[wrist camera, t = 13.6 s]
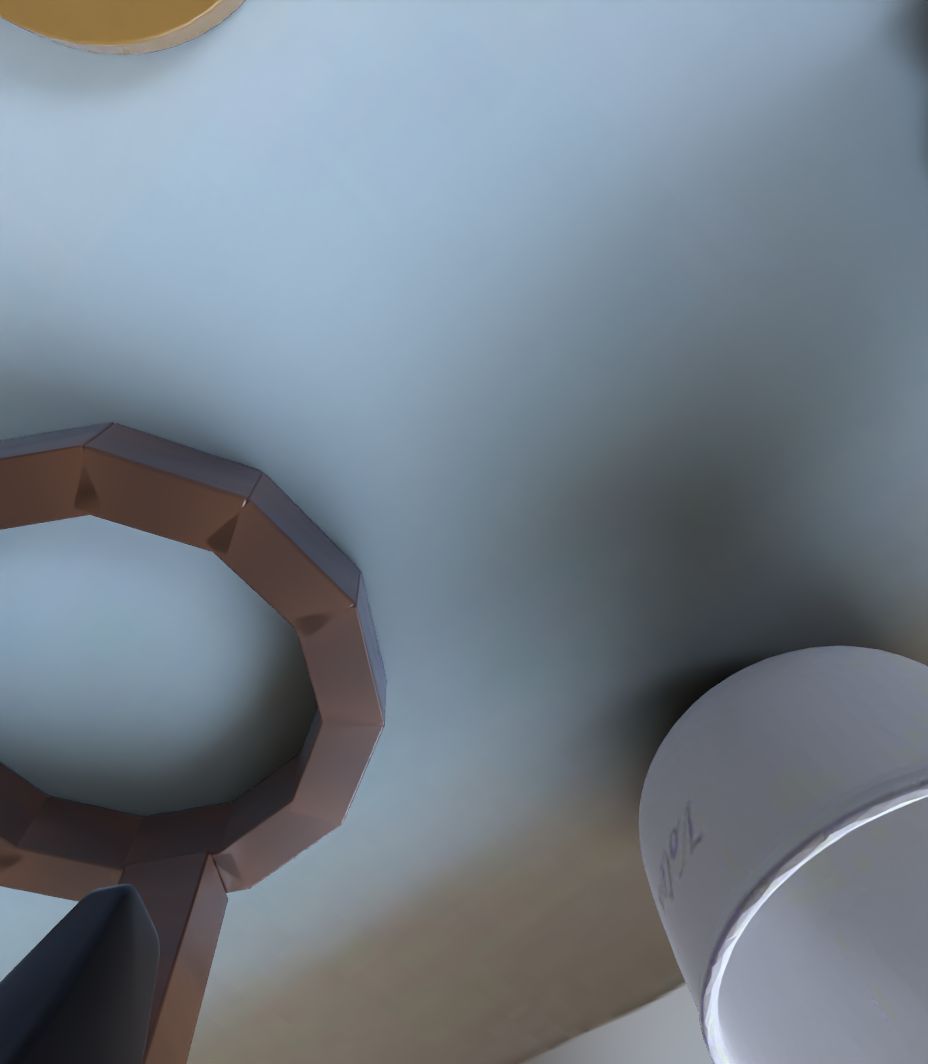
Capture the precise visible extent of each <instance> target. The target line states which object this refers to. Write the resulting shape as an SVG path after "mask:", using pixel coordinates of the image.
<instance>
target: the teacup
mask: <svg viewBox="0 0 928 1064" xmlns="http://www.w3.org/2000/svg"><path fill="white" fill-rule="evenodd" d="M639 838H640V846H641V853H642V859H643V864H644V868H645V871H646V875H647V878H648V881H649V884H650V888H651V891H652V894H653V898H654V901H655V904H656V907H657V909H658V912H659V915H660V918H661V920H662V923H663V926H664V928H665V931H666V934H667V936H668V939H669V942H670V944H671V947H672V949H673V952H674V955H675V957H676V960H677V963H678V965H679V967H680V970H681V972H682V974H683V977H684V979H685V981H686V984H687V986H688V988H689V991H690V993H691V995H692V998H693V1000H694V1002H695V1005H696V1007H697V1009H698V1011H699V1020H700V1025H701V1030H702V1034H703V1038H704V1042H705V1044H706V1047H707V1049H708V1052H709V1054H710V1056H711V1059H712V1061H713V1063H714V1064H928V666H926V665H924V664H922V663H919V662H917V661H914V660H911V659H909V658H906V657H904V656H901V655H897V654H893V653H890V652H886V651H882V650H878V649H870V648H863V647H855V646H827V647H813V648H806V649H801V650H796V651H791V652H787V653H784V654H780V655H777V656H773V657H770V658H767V659H765V660H762V661H760V662H758V663H755V664H753V665H751V666H748V667H746V668H744V669H742V670H740V671H738V672H737V673H735V674H733V675H731V676H730V677H728V678H727V679H725V680H724V681H722V682H721V683H719V684H717V685H716V686H714V687H713V688H711V689H710V690H709V691H707V692H706V693H705V694H704V695H703V696H701V697H700V698H699V699H698V700H697V701H696V702H694V704H693V705H692V706H691V707H690V708H689V709H688V710H687V711H686V712H685V713H684V714H683V715H682V716H681V717H680V719H679V720H678V721H677V722H676V723H675V724H674V726H673V727H672V728H671V730H670V731H669V733H668V734H667V736H666V737H665V739H664V740H663V742H662V743H661V745H660V746H659V748H658V750H657V753H656V755H655V757H654V759H653V761H652V763H651V765H650V768H649V770H648V773H647V776H646V778H645V782H644V786H643V790H642V795H641V801H640V808H639Z"/></svg>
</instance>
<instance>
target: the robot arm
mask: <svg viewBox="0 0 928 1064" xmlns="http://www.w3.org/2000/svg"><path fill="white" fill-rule="evenodd" d="M159 956H160V945H159V938H158V934H157V931H156V929H155V927H154V924H153V922H152V920H151V918H150V916H149V914H148V911H147V909H146V907H145V905H144V903H143V900H142V898H141V896H140V894H139V892H138V890H137V889H136V888H135V887H134V886H133V885H131V884H120V885H114V886H109V887H103V888H97V889H95V890H92V891H91V892H89V893H88V894H87V895H86V896H85V897H84V898H83V899H82V900H81V901H80V902H79V903H78V904H77V905H76V906H75V907H74V908H73V909H72V910H71V911H70V912H69V913H68V914H67V915H66V916H65V917H64V918H63V919H62V920H61V921H60V922H59V923H58V924H57V925H56V926H55V927H54V928H53V929H52V930H51V931H50V932H49V933H48V934H47V935H46V936H45V937H44V938H43V939H42V940H41V941H40V942H39V943H38V944H37V945H36V946H35V947H34V949H33V950H32V951H31V952H30V953H29V954H28V955H27V956H26V957H25V958H24V959H23V960H22V961H21V962H20V963H19V964H18V965H17V966H16V967H15V968H14V969H13V970H12V971H11V972H10V973H9V974H8V975H7V976H6V977H5V978H4V979H3V980H2V981H1V982H0V1064H142V1062H143V1055H144V1049H145V1043H146V1037H147V1031H148V1025H149V1018H150V1012H151V1006H152V1000H153V994H154V988H155V981H156V975H157V969H158V963H159Z"/></svg>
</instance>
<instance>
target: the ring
mask: <svg viewBox="0 0 928 1064" xmlns="http://www.w3.org/2000/svg"><path fill="white" fill-rule="evenodd" d="M85 515H93V516H96V517H99V518H103V519H106V520H109V521H112V522H116V523H119V524H122V525H126V526H129V527H132V528H136V529H139V530H142V531H145V532H149V533H152V534H155V535H159V536H162V537H165V538H169V539H172V540H175V541H179V542H182V543H185V544H188V545H192V546H195V547H198V548H202V549H205V550H208V551H212V552H214V553H215V554H216V555H217V556H218V557H219V558H220V559H221V560H222V561H223V562H224V563H225V564H226V565H228V566H229V567H230V568H231V569H232V570H233V571H234V572H235V573H236V574H237V575H238V576H239V577H240V578H242V579H243V580H244V581H245V582H246V583H247V584H248V585H249V586H250V587H251V588H252V589H253V590H254V591H256V592H257V593H258V594H259V595H260V596H261V597H262V598H263V599H264V600H265V601H266V602H267V603H268V604H269V605H271V606H272V607H273V608H274V609H275V610H276V611H277V612H278V613H279V614H280V615H281V616H282V617H283V618H285V619H286V620H287V621H288V622H289V623H290V624H291V625H292V626H293V627H294V628H295V629H296V631H297V634H298V638H299V642H300V645H301V649H302V652H303V656H304V659H305V663H306V666H307V670H308V673H309V677H310V680H311V684H312V688H313V691H314V695H315V698H316V702H317V705H318V708H317V711H316V714H315V716H314V719H313V721H312V724H311V727H310V729H309V732H308V735H307V737H306V740H305V743H304V745H303V748H302V750H301V753H300V754H298V755H297V756H296V757H294V758H293V759H292V760H290V761H289V762H287V763H286V764H285V765H283V766H282V767H281V768H279V769H278V770H276V771H275V772H274V773H272V774H271V775H270V776H268V777H267V778H265V779H264V780H263V781H261V782H260V783H259V784H257V785H256V786H254V787H253V788H252V789H250V790H249V791H248V792H246V793H245V794H243V795H242V796H241V797H239V798H238V799H237V800H235V801H234V802H230V803H224V804H218V805H212V806H207V807H201V808H195V809H189V810H183V811H177V812H171V813H166V814H160V815H154V816H148V817H140V816H136V815H131V814H127V813H122V812H118V811H113V810H109V809H104V808H100V807H95V806H91V805H86V804H82V803H77V802H73V801H68V800H64V799H59V798H55V797H50V796H47V795H46V794H44V793H43V792H41V791H40V790H39V789H37V788H36V787H34V786H33V785H31V784H30V783H29V782H27V781H26V780H24V779H23V778H21V777H20V776H18V775H17V774H16V773H14V772H13V771H11V770H10V769H8V768H7V767H6V766H4V765H3V764H1V763H0V886H2V887H7V888H12V889H18V890H23V891H28V892H33V893H38V894H43V895H48V896H53V897H58V898H64V899H69V900H74V901H79V902H80V901H81V900H82V899H83V898H84V897H85V896H86V895H87V894H88V893H89V892H91V891H92V890H95V889H97V888H103V887H109V886H114V885H120V884H131V885H133V886H134V887H135V888H136V889H137V890H138V892H139V894H140V896H141V898H142V900H143V903H144V905H145V907H146V909H147V911H148V914H149V916H150V918H151V920H152V922H153V924H154V927H155V929H156V931H157V934H158V938H159V945H160V956H159V963H158V969H157V975H156V981H155V988H154V994H153V1000H152V1006H151V1012H150V1018H149V1025H148V1031H147V1037H146V1043H145V1049H144V1055H143V1062H142V1064H186V1062H187V1058H188V1054H189V1050H190V1046H191V1043H192V1039H193V1035H194V1031H195V1027H196V1023H197V1019H198V1015H199V1011H200V1007H201V1003H202V1000H203V996H204V992H205V988H206V984H207V980H208V976H209V972H210V968H211V964H212V960H213V956H214V953H215V949H216V945H217V941H218V937H219V933H220V929H221V925H222V921H223V917H224V913H225V910H226V906H227V902H228V897H227V895H226V893H229V892H234V891H240V890H246V889H250V888H251V887H253V886H254V885H256V884H257V883H259V882H260V881H261V880H263V879H264V878H266V877H267V876H269V875H270V874H272V873H273V872H274V871H276V870H277V869H279V868H280V867H282V866H283V865H285V864H286V863H287V862H289V861H290V860H292V859H293V858H295V857H296V856H298V855H299V854H300V853H302V852H303V851H305V850H306V849H308V848H309V847H311V846H312V845H313V844H315V843H316V842H318V841H319V840H321V839H322V838H324V837H325V836H327V835H328V834H329V833H331V832H332V831H334V830H335V829H337V828H338V827H340V826H341V825H342V823H343V822H344V820H345V817H346V815H347V813H348V810H349V808H350V805H351V803H352V801H353V798H354V796H355V794H356V791H357V789H358V787H359V784H360V782H361V779H362V777H363V775H364V772H365V770H366V768H367V765H368V763H369V761H370V758H371V756H372V754H373V751H374V749H375V746H376V744H377V742H378V739H379V737H380V735H381V732H382V730H383V728H384V725H385V707H386V676H385V672H384V667H383V663H382V659H381V654H380V650H379V646H378V641H377V637H376V633H375V629H374V624H373V620H372V616H371V611H370V607H369V603H368V598H367V594H366V590H365V585H364V581H363V577H362V572H361V571H360V570H359V569H358V567H357V566H356V565H355V564H354V563H353V562H352V561H351V560H350V559H349V558H348V557H347V556H346V555H345V554H344V553H343V552H342V551H341V550H340V549H339V548H338V547H337V546H336V545H335V544H334V543H333V542H332V541H331V540H330V539H329V538H328V537H327V536H326V535H325V534H324V533H323V532H322V531H321V530H320V529H319V528H318V527H317V526H316V525H315V524H314V523H313V522H312V521H311V520H310V519H309V518H308V517H307V516H306V515H305V514H304V513H303V512H302V511H301V510H300V509H299V508H298V507H297V506H296V505H295V504H294V503H293V501H292V500H291V499H290V498H289V497H288V496H287V495H286V494H285V493H284V492H283V491H282V490H281V489H280V488H279V487H278V486H277V485H276V484H275V483H274V482H273V481H272V480H271V479H270V478H269V477H268V476H267V475H266V474H264V473H262V472H261V471H259V470H257V469H254V468H251V467H248V466H245V465H242V464H239V463H236V462H232V461H229V460H226V459H223V458H220V457H217V456H214V455H211V454H208V453H205V452H202V451H199V450H196V449H193V448H190V447H187V446H184V445H181V444H178V443H175V442H172V441H169V440H166V439H163V438H160V437H157V436H154V435H151V434H148V433H145V432H142V431H139V430H136V429H133V428H130V427H127V426H123V425H120V424H114V422H109V423H103V424H97V425H91V426H85V427H79V428H73V429H67V430H61V431H54V432H48V433H42V434H36V435H30V436H24V437H18V438H12V439H6V440H0V530H1V529H7V528H13V527H19V526H25V525H31V524H37V523H43V522H49V521H55V520H61V519H67V518H73V517H79V516H85Z"/></svg>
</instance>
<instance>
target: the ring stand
mask: <svg viewBox="0 0 928 1064" xmlns="http://www.w3.org/2000/svg"><path fill="white" fill-rule="evenodd" d="M244 1H245V0H0V17H1V18H3V19H5V20H7V21H9V22H11V23H13V24H15V25H17V26H19V27H21V28H23V29H25V30H27V31H29V32H31V33H33V34H35V35H38V36H40V37H42V38H45V39H48V40H50V41H53V42H56V43H59V44H62V45H64V46H67V47H71V48H75V49H80V50H85V51H89V52H94V53H104V54H118V55H128V54H140V53H151V52H155V51H159V50H163V49H167V48H171V47H175V46H178V45H180V44H182V43H185V42H187V41H190V40H192V39H194V38H197V37H199V36H201V35H202V34H204V33H205V32H207V31H209V30H210V29H212V28H213V27H215V26H217V25H218V24H220V23H221V22H222V21H224V20H225V19H226V18H227V17H228V16H229V15H230V14H232V13H233V12H234V11H235V10H236V9H237V8H239V7H240V6H241V5H242V4H243V2H244Z"/></svg>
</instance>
